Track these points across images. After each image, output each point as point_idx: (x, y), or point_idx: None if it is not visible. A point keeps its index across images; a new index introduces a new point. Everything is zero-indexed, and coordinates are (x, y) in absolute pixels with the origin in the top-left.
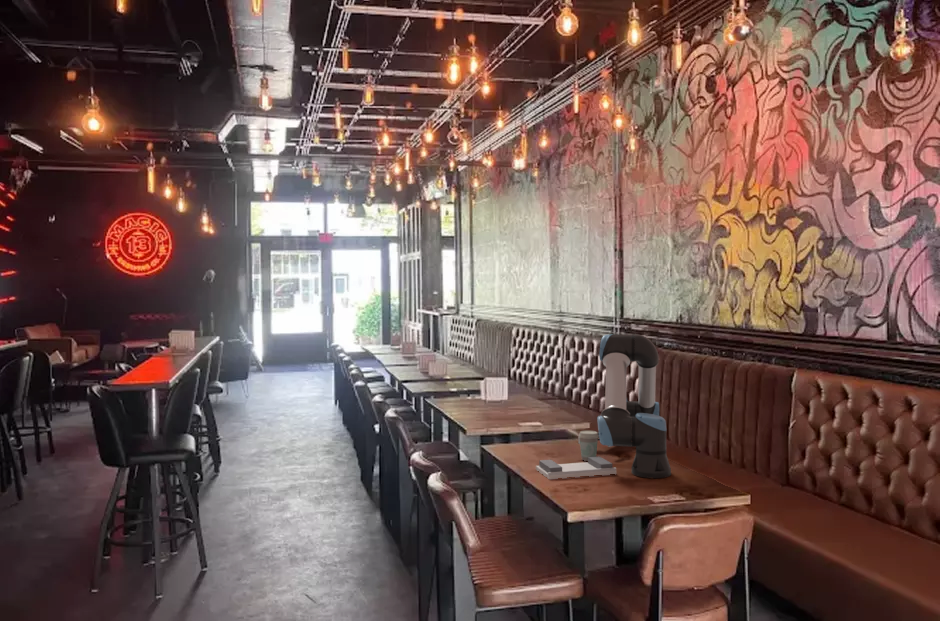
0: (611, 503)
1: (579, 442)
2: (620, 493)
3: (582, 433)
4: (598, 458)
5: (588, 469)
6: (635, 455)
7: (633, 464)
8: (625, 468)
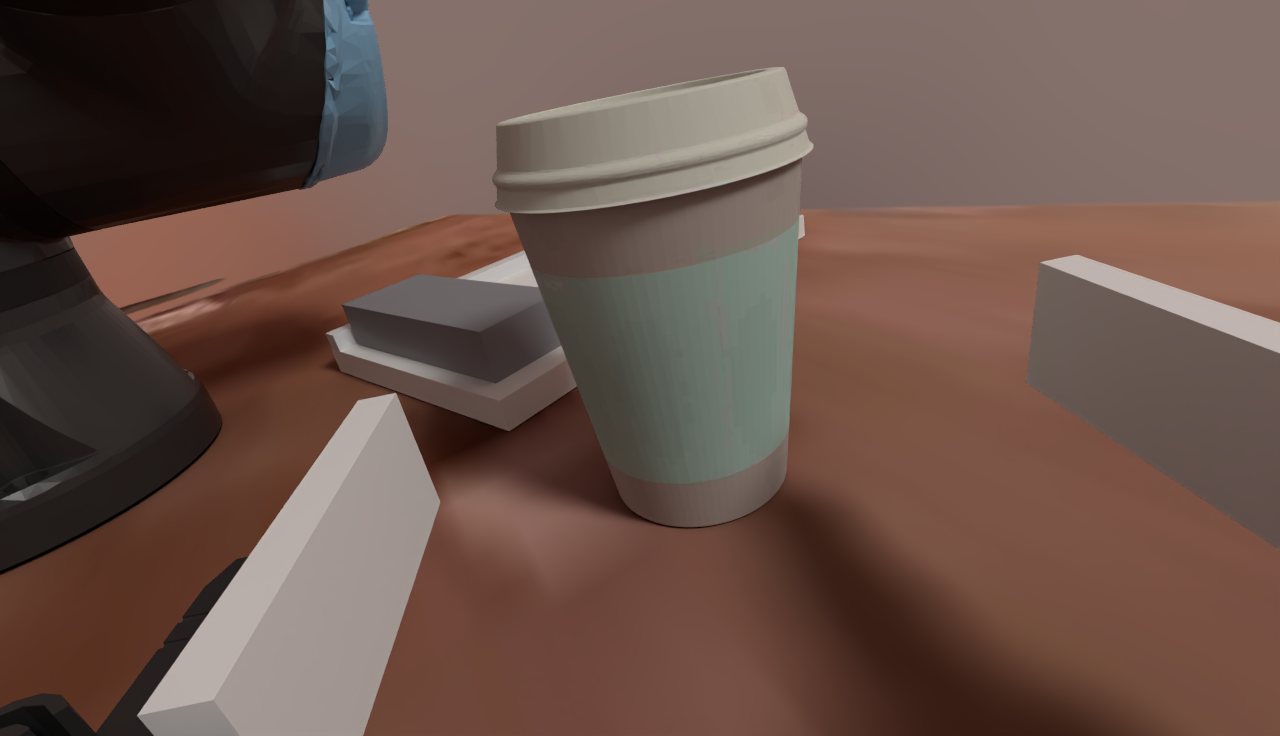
0: (351, 254)
1: (1036, 352)
2: (322, 285)
3: (670, 86)
4: (466, 307)
5: (488, 268)
6: (112, 311)
7: (174, 363)
8: (256, 479)
